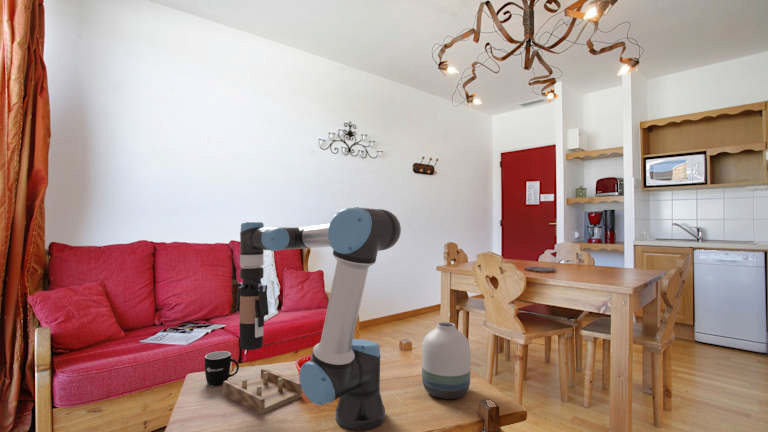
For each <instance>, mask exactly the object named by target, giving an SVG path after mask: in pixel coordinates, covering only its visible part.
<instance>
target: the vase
mask: <svg viewBox="0 0 768 432" xmlns="http://www.w3.org/2000/svg"><path fill="white" fill-rule="evenodd" d="M456 327H457V326H456V324H455V323H453V322H447V321H446V322H445V321H444V322H443V321H441V322H440V321H439V322H438V323H436V327H434V329H432V330H430V331H429V332H428V333H426V335H425V336H424V338H423V341H422V345H421V380H422V381H421V382H422V385H423V388H424V389H425V391H426V392H427V393H428V394H430V395H431V396H434V397H436V398H439V399H444V400H445V399H446V400H454V399H459V398H462V397H463V396H465V395H466V394H467V393H468V391H469V389H470V385H471V345H470V343H469V339H468V338H467V337H466V335H464V333H462V332H461V331H459V329H458V328H456Z"/></svg>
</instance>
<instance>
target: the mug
mask: <svg viewBox="0 0 768 432" xmlns="http://www.w3.org/2000/svg"><path fill="white" fill-rule="evenodd" d="M231 363H234V364H235V365H236V370H235V372H233V373H230V372H231ZM239 366H240V365H239V363H238V361H237V360H236V359H234V358H232V353H231V352H229V351H226V350H222V351H221V350H220V351H213V352H209V353H206V354H205V356H204V373H205V380H206V383H207V384H208V385H209V386H210V387H218V386H223V383H224V381H226V380H227V381H229V380H228V379H229V378H231V377H234V376H236V375H237V373H238V372H239V369H240V367H239Z"/></svg>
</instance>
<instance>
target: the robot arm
mask: <svg viewBox="0 0 768 432" xmlns="http://www.w3.org/2000/svg"><path fill="white" fill-rule="evenodd" d="M401 229H402V227H401V223H400V221H399V219H398V218H397V216H396V214H394V213H392V212H391V211H389V210H387V209H382V208H369V207H359V206H354V207H345V208H343V209H341V210H340V211H338V212H336V213H335V214H334V216H333V217H332V218H331V219H330V222H329V223H326V224H319V225H310V226H300V227H299V226H298V227H290V226H289V227H286V226H284V227H281V226H280V227H279V226H270V227H269V226H268V227H265V226H264V223H263V222H262V221H245V222H244V221H243V222H241V224H240V232H239V236H240V237H239V239H240V240H239V241H240V242H239V243H240V245H239V247H240V248H239V249H240V255H239V260H240V261H239V266H240V267H241V268H240V270H239V271H240V272H239V275H240V276H239V278H240V279H241V280H242V282H237V283H236V286H237V287H236V288H237V290H236V292H237V293H236V303H235V312H238V314H239V315H240V288H242V287H243V289H258V291H259V293H258V294H259V300H256V299H255V310H256V314H257V316H255V337H256V338H257V337H261V336H263V337H264V327H265V316H268V315H270V313H269V302H268V285H267V284H262V281H261V280H262V279H264V267H263V266H264V251H271V252H272V251H273V252H275V251H276V252H277V251H282V250H283V251H284V250H300V249H301V250H302V249H303V250H304V249H305V250H309V249H313V248H316V249H317V248H330V247H331V248H332V249H333V250H332V255H333V257H334V258H335V260H336V265H335V268H334V275H333V279H332V284H331V289H330V293H329V299H328V304H327V308H326V313H325V316H324V317H325V318H324V322H323V328H322V332H321V338H320V342H318V343H317V344H315V345H314V346H313V349H312V353H311V358H310V360H308V361H306V362H305V363H303V364H302V366H301V367H300V370H299V377H298V378H299V382H300V384H301V387H302V393H303V394H304V396H306V398H307V399H308V400H309V402H311V403H313V404H315V405H317V406H323V405H326V404H328V403H332V402H334V401H335V400H337V399H338V401H337V402H338V403H337V406H336V408H335V421H336V423H337V425H339V426H341V427H342V428H345V429H347V430H353V431H368V430H372V429H374V428H377V427H379V426H381V425H382V424H383V423H384V422H385V420H386V409H385V405H384V404H383V403H384V402H383V399H382V395H381V390H380V389H381V386H380V385H381V358H382V357H381V356H382V355H381V347H380V345H379V344H378V343H377V342H375V341H372V340H369V339H362V338H361V339H360V338H354V337H355V336H354V335H355V332H356V326H357V323H358V322H357V321H358V318H359V314H360V313H359V312H360V309H361V303H362V298H363V294H364V289H365V285H366V281H367V275H368V272H369V268H370V267H371V266H373V265H375V264H376V261H377V258H378V252H379V251H384V250H388V249H391V248H392V247H393V246H395V245H396V243H397V242H399V239H400V236H401V231H402V230H401Z"/></svg>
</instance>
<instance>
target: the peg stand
mask: <svg viewBox="0 0 768 432" xmlns="http://www.w3.org/2000/svg"><path fill="white" fill-rule="evenodd" d="M222 387H223V389H222V391H223V393H222V395H223V396H225V397H227V398H229V399H231V400H232V401H234V402H236V403H238V404H239V405H242V406H244V407H246V408H248V409H250V410H251V411H252V412H255V413H257V414H259V415H261V416H262V415H263V414H266V413H268V412H270V411H272V410H274V409H277V408H279V407H281V406H282V407H283V405H286V404H288V403H290V402H293V401H294V400H297V399H299V398H302V397H303V395H302V394H303V389H302V387H301V384H300V381H298V380H295V379H293V378H290V377H287V376H285V375H283V374H280V373H277V372H275V371H272V370H270V369H267V368H265V367H262V368H260V377H256V378H254V379H251V380H249V381H248V379H247V378H244V379H242V381H241V383H240V384H235V383H234V382H231V381H229V380H226V381H224V383H223V384H222Z"/></svg>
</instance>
